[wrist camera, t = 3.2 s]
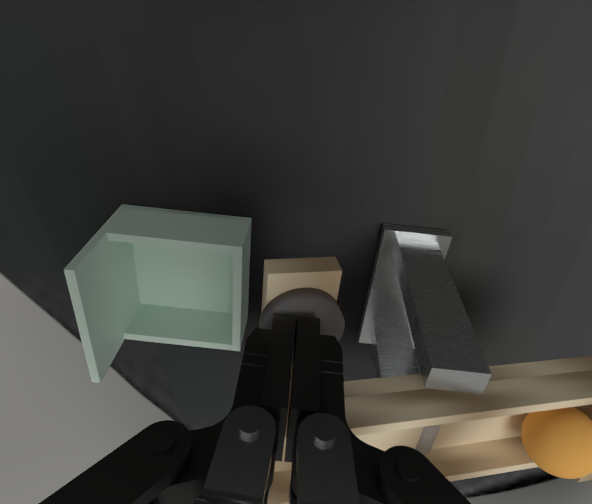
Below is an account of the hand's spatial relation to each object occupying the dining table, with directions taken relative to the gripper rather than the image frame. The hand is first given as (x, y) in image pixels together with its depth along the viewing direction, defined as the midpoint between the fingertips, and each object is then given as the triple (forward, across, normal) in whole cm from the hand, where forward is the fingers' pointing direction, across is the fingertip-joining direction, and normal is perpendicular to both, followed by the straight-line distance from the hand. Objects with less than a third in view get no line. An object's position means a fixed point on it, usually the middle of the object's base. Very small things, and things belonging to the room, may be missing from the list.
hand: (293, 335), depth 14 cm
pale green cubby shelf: (+13, +7, +7) cm, 16 cm away
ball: (+2, -13, +7) cm, 15 cm away
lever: (+3, -7, +4) cm, 8 cm away
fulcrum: (+13, -7, +7) cm, 16 cm away
